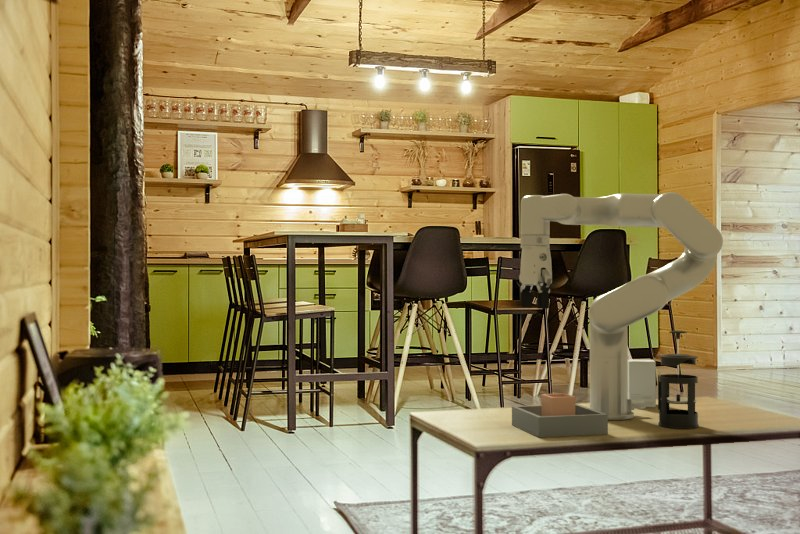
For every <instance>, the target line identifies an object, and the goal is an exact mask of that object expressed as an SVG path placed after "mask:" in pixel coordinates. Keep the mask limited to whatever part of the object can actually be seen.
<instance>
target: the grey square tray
mask: <svg viewBox="0 0 800 534" xmlns="http://www.w3.org/2000/svg"><path fill="white" fill-rule="evenodd" d="M511 426H513V427H515V428H518V429H520V430H522V431H525V432H527V433H529V434H530V433H531V435H532V434H533V436H535V437H537V438H550V437H551V438H553V437H554V438H555V437H571V436H572V437H573V436H594V435H595V436H596V435H597V436H598V435H608V434H609V420H608V414H605V413H602V412H599V411H596V410H593V409H590V407H587V406H583V405H581V404H578V403H575V415H565V416H542V404H540V405H539V404H537V405H517V406H516V405H514V406H511Z"/></svg>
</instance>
